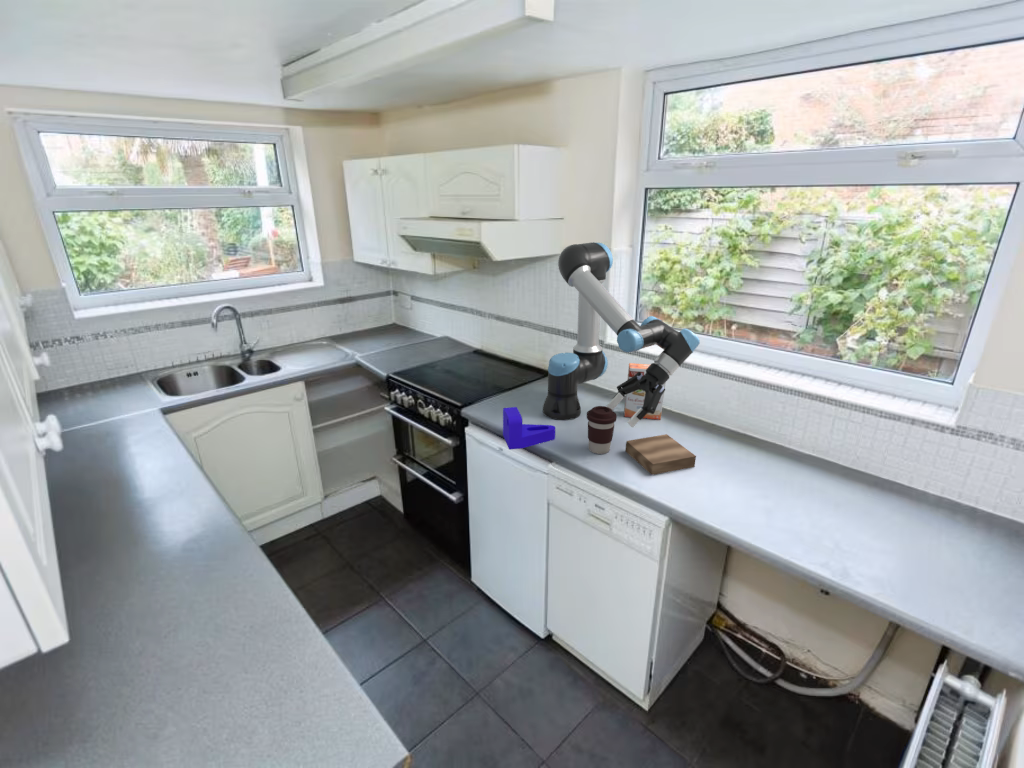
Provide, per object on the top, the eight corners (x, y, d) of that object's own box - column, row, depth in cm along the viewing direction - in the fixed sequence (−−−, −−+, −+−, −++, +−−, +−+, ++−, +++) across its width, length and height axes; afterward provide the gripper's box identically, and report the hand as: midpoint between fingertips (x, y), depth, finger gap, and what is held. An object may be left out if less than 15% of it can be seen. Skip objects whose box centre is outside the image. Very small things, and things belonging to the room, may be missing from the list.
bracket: (509, 449, 173) (509, 419, 169) (503, 435, 183) (502, 406, 179) (559, 444, 177) (560, 414, 173) (550, 431, 187) (551, 401, 182)
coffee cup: (583, 455, 170) (586, 414, 164) (585, 441, 179) (587, 402, 174) (613, 457, 168) (617, 417, 163) (613, 443, 177) (617, 405, 172)
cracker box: (624, 417, 197) (629, 367, 190) (623, 411, 203) (628, 362, 195) (661, 420, 195) (667, 369, 187) (659, 414, 201) (665, 364, 193)
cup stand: (625, 451, 173) (626, 440, 171) (665, 444, 177) (666, 434, 176) (651, 475, 158) (653, 464, 157) (694, 466, 163) (696, 456, 162)
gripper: (691, 388, 159) (646, 438, 160) (646, 364, 181) (607, 408, 182) (679, 375, 156) (632, 426, 157) (635, 351, 178) (594, 396, 179)
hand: (618, 416), depth 170 cm, fingers open, 13 cm apart
